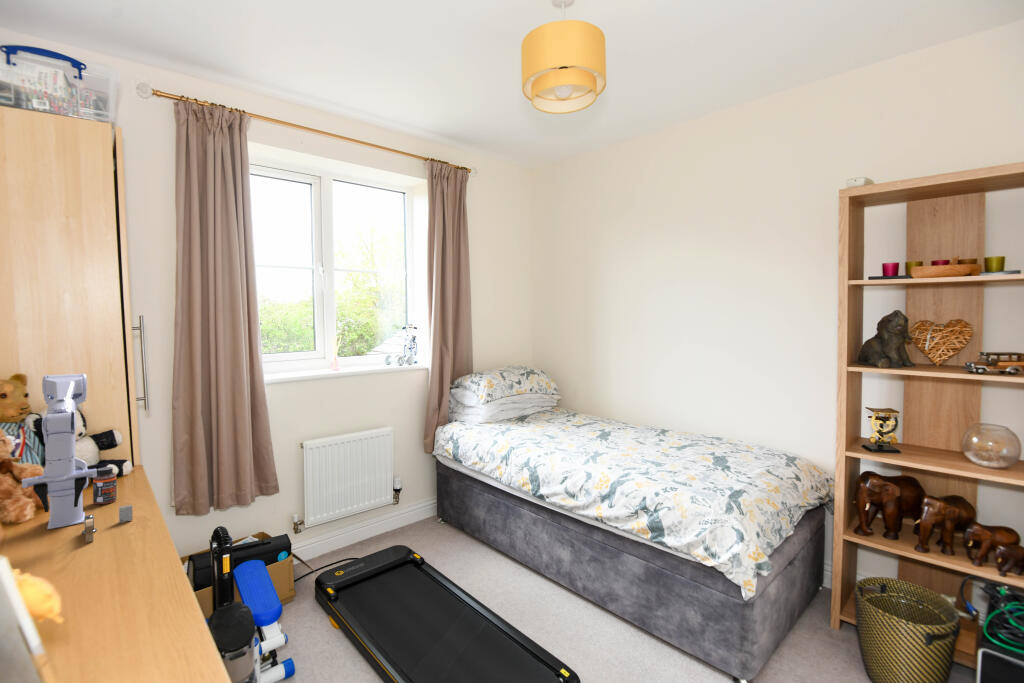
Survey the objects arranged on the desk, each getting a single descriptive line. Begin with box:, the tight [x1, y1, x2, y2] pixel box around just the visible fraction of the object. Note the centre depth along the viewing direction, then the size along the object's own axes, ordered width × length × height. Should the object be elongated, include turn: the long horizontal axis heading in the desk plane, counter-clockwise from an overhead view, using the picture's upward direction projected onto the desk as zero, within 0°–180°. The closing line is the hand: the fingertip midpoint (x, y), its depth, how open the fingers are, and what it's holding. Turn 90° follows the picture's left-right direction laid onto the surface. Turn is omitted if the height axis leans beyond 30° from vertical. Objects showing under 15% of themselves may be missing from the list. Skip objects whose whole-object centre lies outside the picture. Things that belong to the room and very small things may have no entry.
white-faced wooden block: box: [118, 504, 133, 524], centre depth 145 cm, size 2×3×4 cm, turn 131°
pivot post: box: [81, 514, 98, 535], centre depth 137 cm, size 3×3×4 cm
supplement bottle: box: [92, 466, 118, 506], centre depth 160 cm, size 6×6×11 cm
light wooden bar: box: [85, 519, 94, 544], centre depth 133 cm, size 8×2×4 cm, turn 41°
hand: (61, 508), depth 130 cm, fingers open, 5 cm apart
